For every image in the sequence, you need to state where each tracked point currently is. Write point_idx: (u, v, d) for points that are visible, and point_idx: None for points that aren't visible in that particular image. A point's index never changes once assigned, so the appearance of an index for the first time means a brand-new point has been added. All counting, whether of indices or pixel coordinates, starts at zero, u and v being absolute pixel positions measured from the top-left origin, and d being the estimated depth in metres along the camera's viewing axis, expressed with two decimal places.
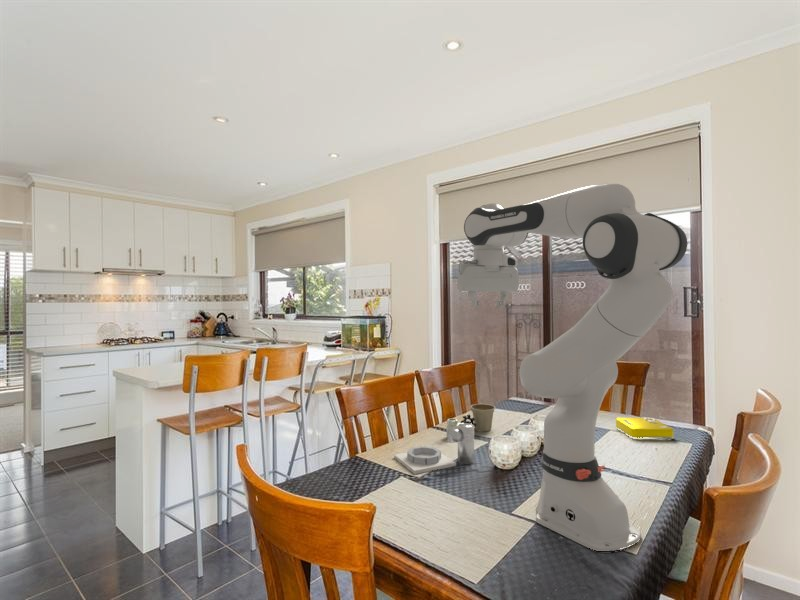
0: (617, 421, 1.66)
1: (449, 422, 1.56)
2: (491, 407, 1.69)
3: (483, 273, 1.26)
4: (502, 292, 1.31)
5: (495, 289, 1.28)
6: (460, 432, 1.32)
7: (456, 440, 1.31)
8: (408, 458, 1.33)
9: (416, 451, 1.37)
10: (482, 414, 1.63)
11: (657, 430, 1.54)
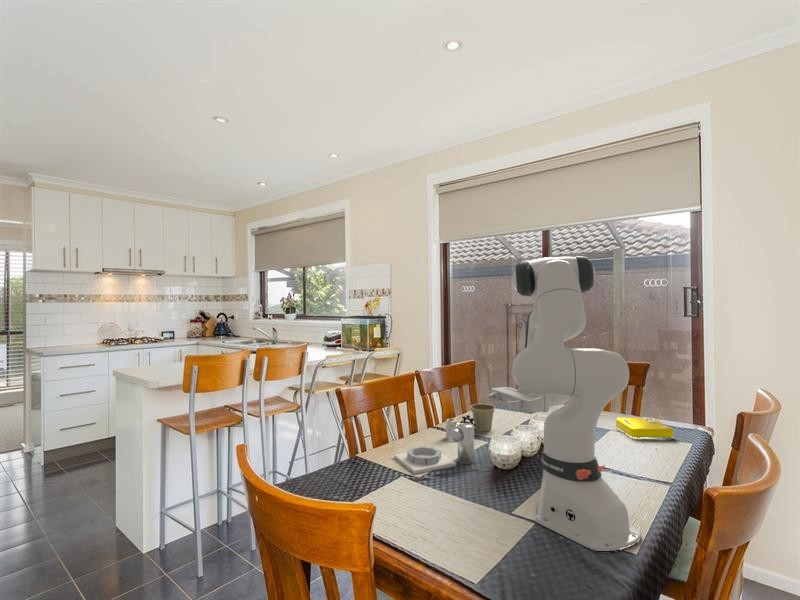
0: (617, 421, 1.66)
1: (448, 422, 1.55)
2: (491, 407, 1.69)
3: (514, 391, 1.47)
4: None
5: (512, 394, 1.41)
6: (460, 432, 1.32)
7: (456, 440, 1.31)
8: (408, 458, 1.33)
9: (416, 451, 1.37)
10: (482, 414, 1.63)
11: (657, 430, 1.54)
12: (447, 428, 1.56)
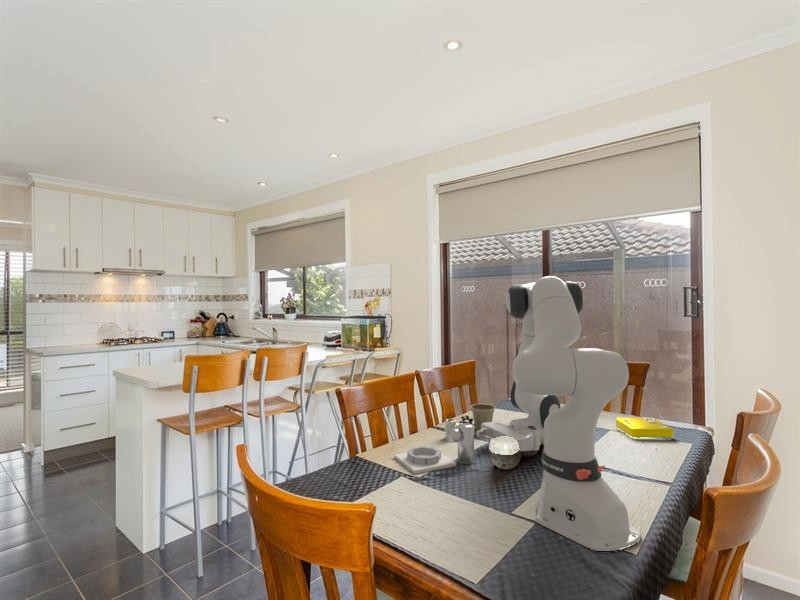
0: (617, 421, 1.66)
1: (447, 423, 1.55)
2: (491, 407, 1.69)
3: (505, 427, 1.45)
4: None
5: (502, 431, 1.39)
6: (460, 432, 1.32)
7: (456, 440, 1.31)
8: (408, 458, 1.33)
9: (416, 451, 1.37)
10: (482, 414, 1.63)
11: (657, 430, 1.54)
12: (446, 428, 1.55)
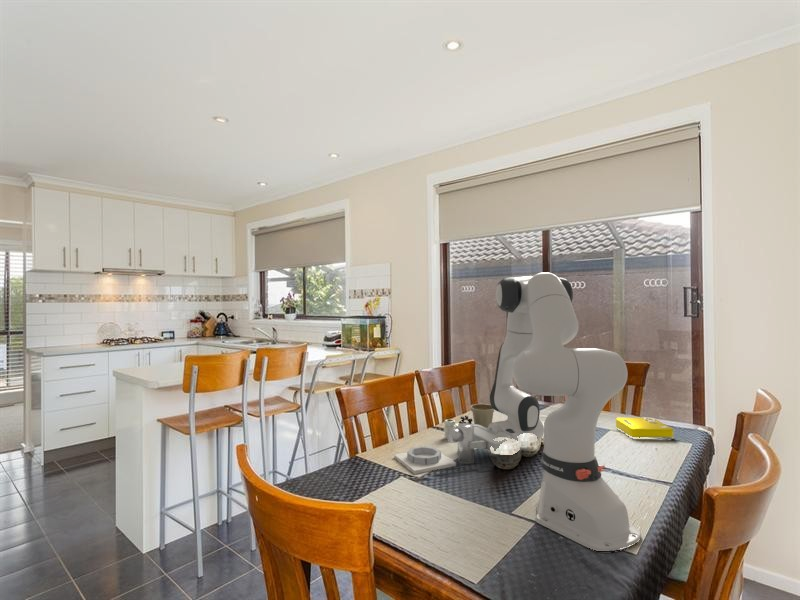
0: (617, 421, 1.66)
1: (447, 423, 1.55)
2: (491, 407, 1.69)
3: (483, 430, 1.41)
4: None
5: (479, 435, 1.35)
6: (460, 432, 1.32)
7: (456, 440, 1.31)
8: (408, 458, 1.33)
9: (416, 451, 1.37)
10: (482, 414, 1.63)
11: (657, 430, 1.54)
12: (445, 429, 1.55)
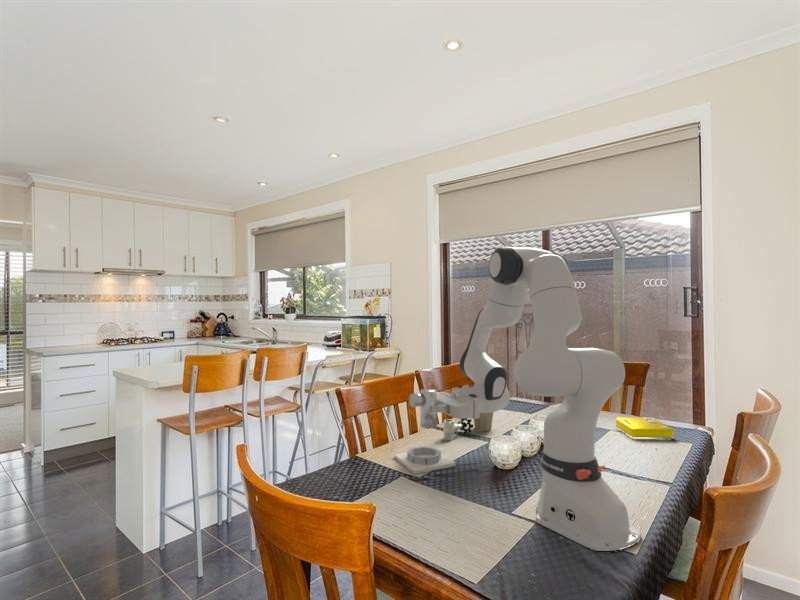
0: (617, 421, 1.66)
1: (446, 423, 1.54)
2: None
3: (448, 396, 1.41)
4: None
5: (442, 400, 1.35)
6: (422, 396, 1.32)
7: (417, 404, 1.31)
8: (408, 458, 1.33)
9: (416, 451, 1.37)
10: (482, 414, 1.63)
11: (657, 430, 1.54)
12: (444, 429, 1.55)
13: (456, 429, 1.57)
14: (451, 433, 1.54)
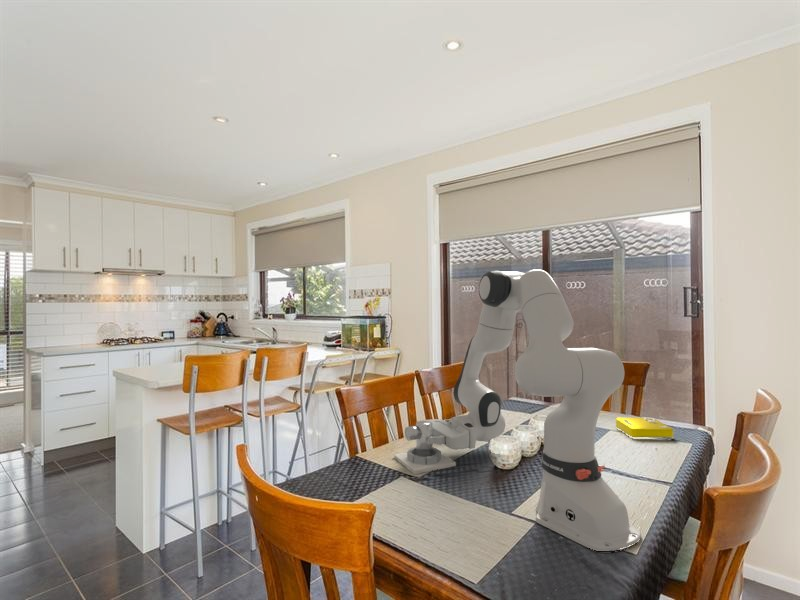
0: (617, 421, 1.66)
1: None
2: None
3: (443, 424, 1.40)
4: None
5: (438, 429, 1.35)
6: (417, 429, 1.31)
7: (413, 438, 1.30)
8: (408, 458, 1.33)
9: (416, 451, 1.37)
10: None
11: (657, 430, 1.54)
12: None
13: None
14: None
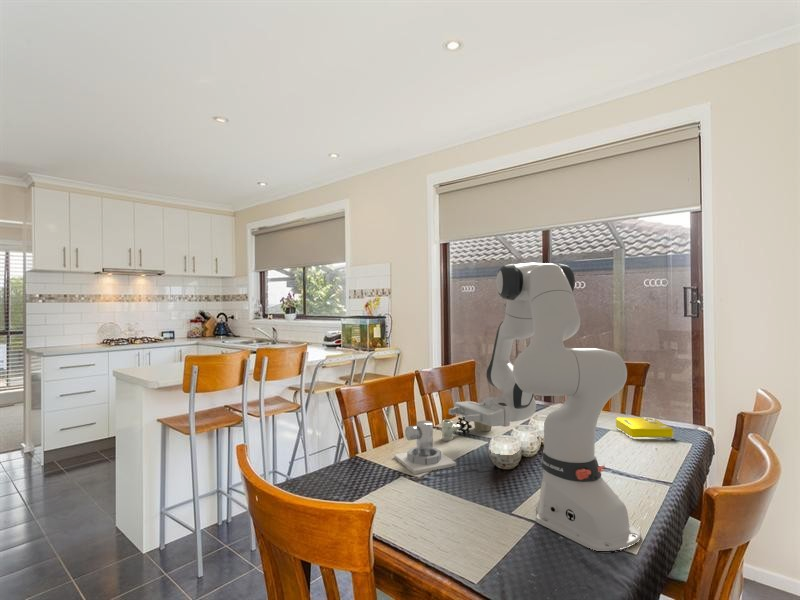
0: (617, 421, 1.66)
1: (444, 424, 1.54)
2: None
3: (477, 405, 1.45)
4: None
5: (473, 408, 1.40)
6: (418, 429, 1.31)
7: (414, 437, 1.30)
8: (408, 458, 1.33)
9: (416, 451, 1.37)
10: None
11: (657, 430, 1.54)
12: (443, 429, 1.54)
13: (454, 429, 1.56)
14: (449, 434, 1.53)
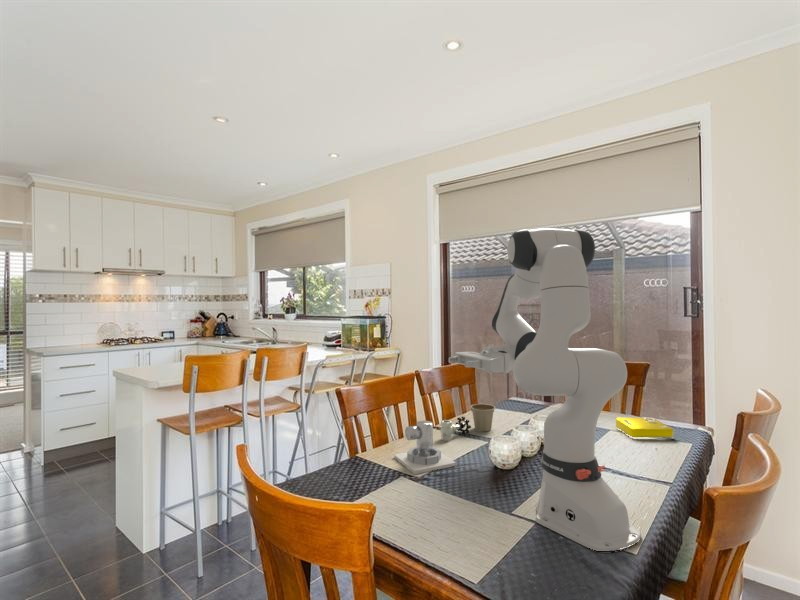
0: (617, 421, 1.66)
1: (443, 424, 1.54)
2: (491, 407, 1.69)
3: (477, 354, 1.46)
4: None
5: (473, 356, 1.40)
6: (418, 429, 1.31)
7: (414, 437, 1.30)
8: (408, 458, 1.33)
9: (416, 451, 1.37)
10: (482, 414, 1.63)
11: (657, 430, 1.54)
12: (442, 430, 1.54)
13: (454, 430, 1.56)
14: (449, 434, 1.53)
